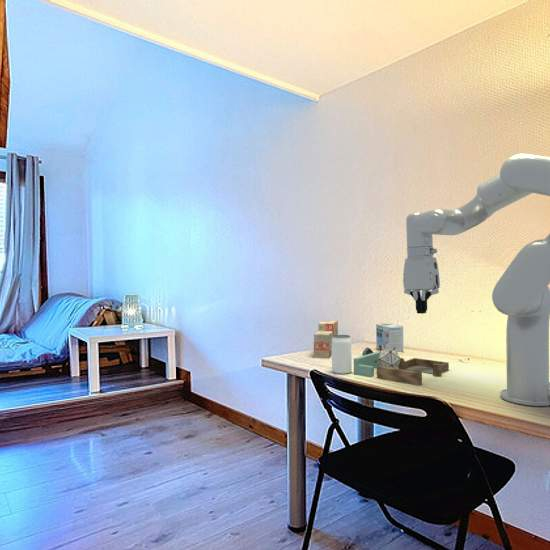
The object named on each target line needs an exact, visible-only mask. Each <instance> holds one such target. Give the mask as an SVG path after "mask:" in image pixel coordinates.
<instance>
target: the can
mask: <svg viewBox="0 0 550 550" xmlns="http://www.w3.org/2000/svg"><path fill="white" fill-rule="evenodd" d="M352 357H353V355H352V339H351V336H350V335H348V334H338V335H334V336H333V339H332V356H331V371H332V373H334V374H336V373H337V375H347V374H346V373H348V374H351V373H350V372H352V371H353V369H352V367H353V362H352V359H353V358H352Z"/></svg>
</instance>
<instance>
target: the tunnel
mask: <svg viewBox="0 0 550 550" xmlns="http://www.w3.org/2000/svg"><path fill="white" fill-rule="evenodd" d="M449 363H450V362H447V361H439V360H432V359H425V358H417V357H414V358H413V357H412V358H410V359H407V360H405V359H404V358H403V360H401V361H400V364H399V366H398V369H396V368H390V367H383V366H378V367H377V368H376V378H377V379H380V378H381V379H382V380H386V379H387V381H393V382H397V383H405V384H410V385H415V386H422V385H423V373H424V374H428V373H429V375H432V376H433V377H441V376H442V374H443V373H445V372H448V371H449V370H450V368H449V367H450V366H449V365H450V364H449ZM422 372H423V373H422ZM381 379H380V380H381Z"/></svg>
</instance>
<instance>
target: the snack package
mask: <svg viewBox="0 0 550 550" xmlns="http://www.w3.org/2000/svg"><path fill="white" fill-rule="evenodd" d="M371 353H375V351H373V350H372V349H371V348H370V347H365V349H364V350H363V352H362V355H361V356H364V355H368V354H371Z"/></svg>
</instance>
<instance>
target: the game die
mask: <svg viewBox="0 0 550 550" xmlns="http://www.w3.org/2000/svg"><path fill="white" fill-rule="evenodd" d="M379 349H380V350H379V352H380V353H379V356H378V359H377V361H375V363H376V362H377V363H378V365H379V366H383V367H390V368H396V369H398V366H399V364H400V361H401V360H403V359H404V358H403V357H400V355H399V353H396V351H395V348H394V349H389V350H381V348H379Z"/></svg>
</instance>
